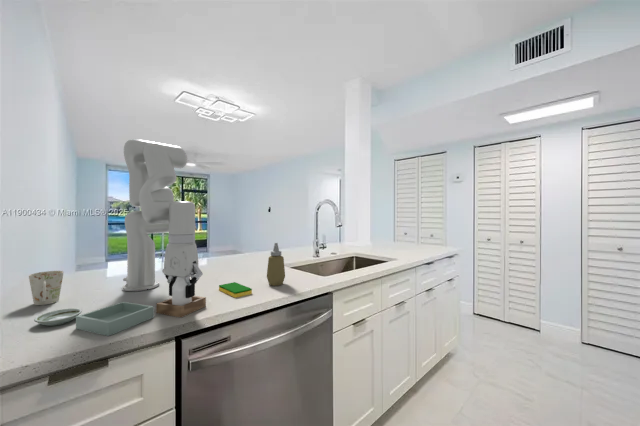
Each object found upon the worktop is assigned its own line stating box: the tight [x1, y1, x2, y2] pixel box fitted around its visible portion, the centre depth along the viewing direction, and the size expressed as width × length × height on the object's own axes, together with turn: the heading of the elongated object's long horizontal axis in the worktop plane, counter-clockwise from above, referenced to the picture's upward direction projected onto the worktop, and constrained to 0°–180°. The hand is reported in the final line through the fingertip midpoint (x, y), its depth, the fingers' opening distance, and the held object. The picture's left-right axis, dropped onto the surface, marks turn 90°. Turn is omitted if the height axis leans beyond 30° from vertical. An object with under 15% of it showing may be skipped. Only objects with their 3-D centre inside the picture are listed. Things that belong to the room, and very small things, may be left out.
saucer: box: [33, 307, 83, 327], centre depth 76 cm, size 10×10×2 cm
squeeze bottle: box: [266, 242, 286, 287], centre depth 116 cm, size 8×8×18 cm
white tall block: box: [171, 277, 192, 306], centre depth 86 cm, size 6×12×6 cm
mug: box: [28, 270, 64, 306], centre depth 91 cm, size 8×13×10 cm, turn 45°
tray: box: [75, 301, 155, 337], centre depth 76 cm, size 13×13×3 cm
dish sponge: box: [218, 281, 253, 299], centre depth 105 cm, size 7×14×2 cm, turn 45°
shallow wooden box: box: [155, 295, 207, 318], centre depth 86 cm, size 10×10×3 cm
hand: (181, 295), depth 86 cm, fingers closed on white tall block, 6 cm apart
